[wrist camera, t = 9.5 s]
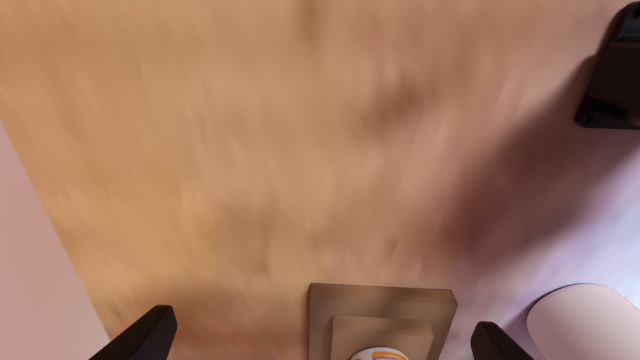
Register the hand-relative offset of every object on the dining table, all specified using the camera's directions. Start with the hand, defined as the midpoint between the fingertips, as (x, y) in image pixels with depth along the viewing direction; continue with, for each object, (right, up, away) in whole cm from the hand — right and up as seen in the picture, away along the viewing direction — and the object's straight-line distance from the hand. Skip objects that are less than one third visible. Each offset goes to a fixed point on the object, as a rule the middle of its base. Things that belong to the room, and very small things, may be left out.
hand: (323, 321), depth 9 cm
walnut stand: (+5, -10, +19) cm, 23 cm away
